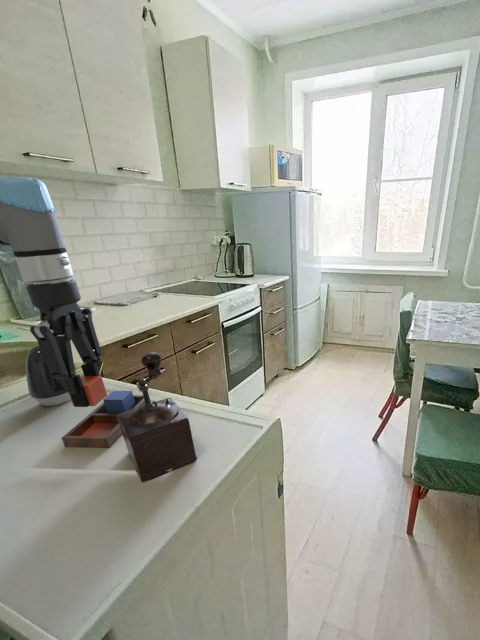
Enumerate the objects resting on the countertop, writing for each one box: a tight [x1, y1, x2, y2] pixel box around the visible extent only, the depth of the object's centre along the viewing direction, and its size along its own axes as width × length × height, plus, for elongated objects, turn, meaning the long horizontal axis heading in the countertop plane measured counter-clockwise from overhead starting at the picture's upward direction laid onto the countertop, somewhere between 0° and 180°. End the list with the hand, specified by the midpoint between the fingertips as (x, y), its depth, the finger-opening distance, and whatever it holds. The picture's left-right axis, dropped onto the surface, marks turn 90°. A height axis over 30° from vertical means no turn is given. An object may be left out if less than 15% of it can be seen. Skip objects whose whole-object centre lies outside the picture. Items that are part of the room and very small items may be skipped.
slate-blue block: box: [102, 390, 136, 414], centre depth 81 cm, size 4×4×4 cm
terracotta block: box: [69, 375, 108, 407], centre depth 70 cm, size 4×4×4 cm
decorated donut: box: [74, 361, 86, 376], centre depth 103 cm, size 10×11×4 cm
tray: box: [61, 394, 145, 449], centre depth 78 cm, size 10×18×3 cm, turn 175°
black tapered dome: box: [25, 344, 72, 407], centre depth 88 cm, size 10×10×15 cm
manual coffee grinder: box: [117, 351, 198, 483], centre depth 65 cm, size 16×11×18 cm
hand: (90, 399), depth 71 cm, fingers closed on terracotta block, 4 cm apart
